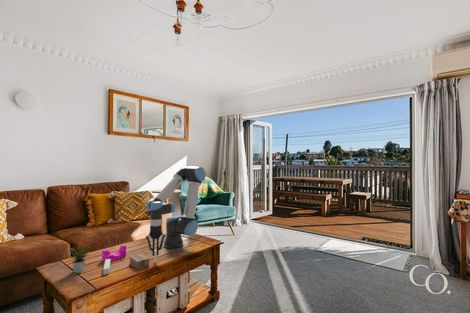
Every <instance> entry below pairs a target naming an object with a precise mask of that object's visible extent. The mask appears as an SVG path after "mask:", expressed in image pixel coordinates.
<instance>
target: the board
mask: <svg viewBox="0 0 470 313" xmlns="http://www.w3.org/2000/svg"><path fill="white" fill-rule="evenodd" d="M110 269H111V259H106V260H105V262H104V265H103V276H104V275H109V274H110V272H111V271H110Z"/></svg>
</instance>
